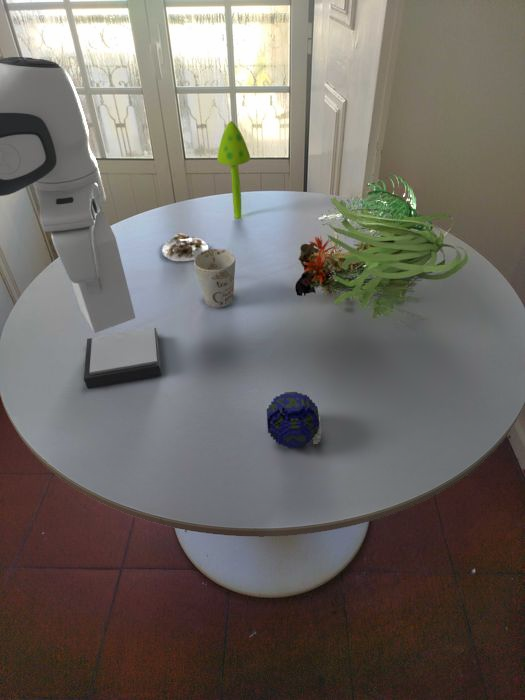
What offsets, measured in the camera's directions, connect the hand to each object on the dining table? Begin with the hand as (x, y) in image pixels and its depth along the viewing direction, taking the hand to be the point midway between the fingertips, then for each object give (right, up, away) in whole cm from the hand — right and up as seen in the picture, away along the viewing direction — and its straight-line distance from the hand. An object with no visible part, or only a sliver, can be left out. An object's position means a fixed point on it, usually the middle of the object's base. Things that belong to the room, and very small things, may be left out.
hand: (97, 275), depth 75 cm
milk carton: (0, -6, +5) cm, 8 cm away
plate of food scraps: (+7, +13, +43) cm, 45 cm away
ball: (+31, -25, -1) cm, 40 cm away
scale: (+1, -14, +13) cm, 19 cm away
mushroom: (+19, +25, +55) cm, 64 cm away
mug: (+16, 0, +28) cm, 33 cm away
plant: (+48, +1, +27) cm, 55 cm away
